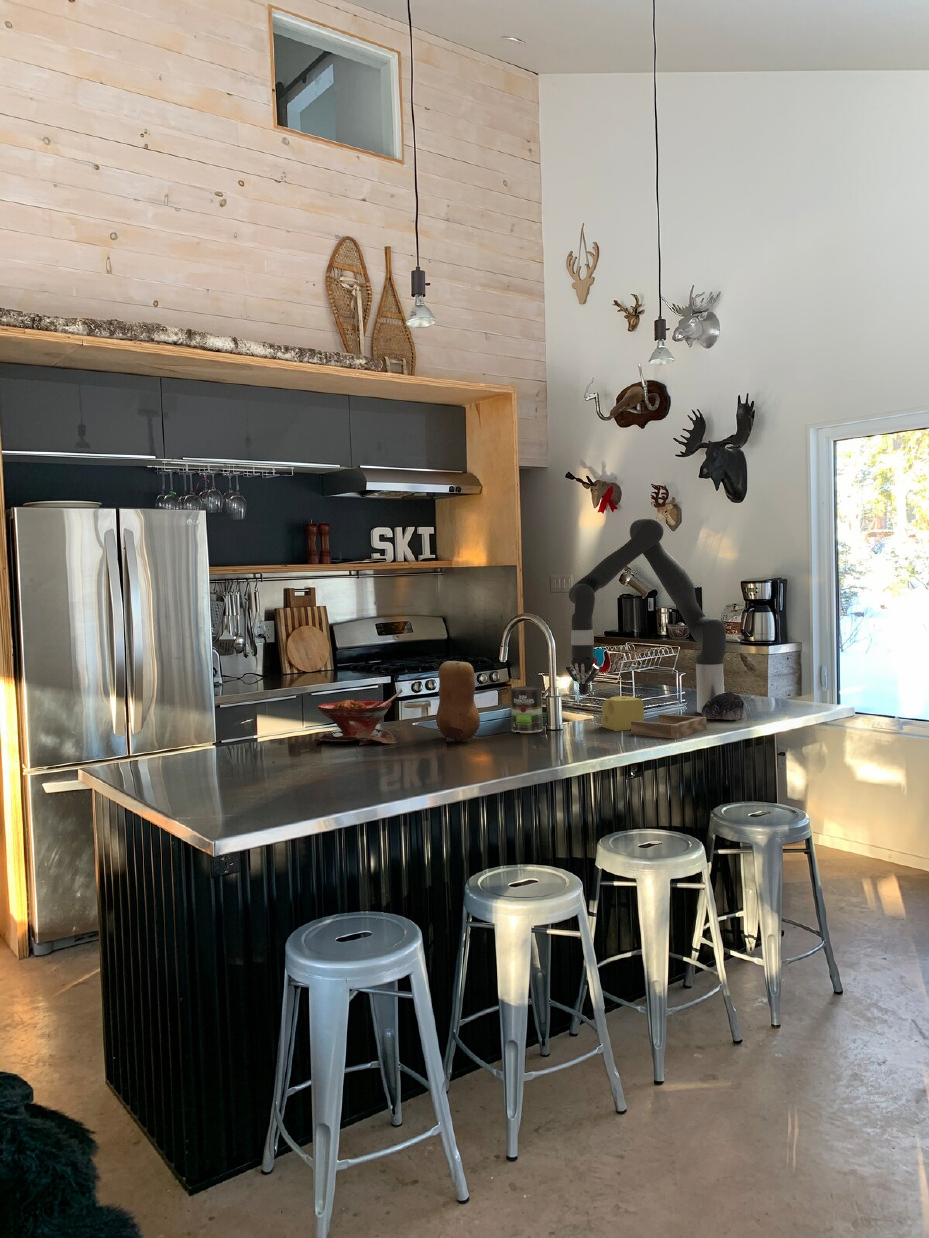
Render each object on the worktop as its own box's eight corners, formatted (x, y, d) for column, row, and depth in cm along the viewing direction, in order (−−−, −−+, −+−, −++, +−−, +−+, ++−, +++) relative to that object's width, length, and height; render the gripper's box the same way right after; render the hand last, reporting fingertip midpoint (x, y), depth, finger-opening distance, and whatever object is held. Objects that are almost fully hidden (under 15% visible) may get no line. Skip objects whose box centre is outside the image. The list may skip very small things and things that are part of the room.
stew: (405, 733, 316) (403, 685, 315) (402, 746, 292) (400, 694, 291) (320, 737, 315) (318, 688, 315) (310, 750, 291) (308, 697, 291)
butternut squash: (482, 735, 306) (479, 658, 305) (478, 743, 293) (476, 662, 292) (439, 736, 308) (436, 659, 306) (434, 744, 294) (431, 663, 293)
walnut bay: (661, 725, 314) (661, 713, 314) (706, 729, 303) (706, 717, 303) (631, 734, 300) (630, 721, 299) (677, 738, 289) (676, 725, 289)
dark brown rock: (694, 719, 325) (693, 690, 325) (728, 716, 329) (728, 688, 329) (716, 725, 312) (715, 694, 312) (752, 721, 317) (751, 692, 316)
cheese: (601, 727, 316) (600, 697, 316) (630, 724, 319) (629, 694, 319) (615, 731, 306) (614, 700, 306) (645, 729, 309) (644, 698, 309)
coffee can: (539, 733, 307) (538, 689, 307) (508, 733, 310) (506, 689, 310) (546, 728, 317) (544, 686, 316) (515, 727, 320) (514, 686, 319)
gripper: (605, 643, 320) (606, 694, 321) (572, 642, 329) (573, 692, 329) (592, 644, 314) (593, 697, 315) (559, 643, 323) (560, 694, 324)
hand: (583, 694), depth 322 cm, fingers closed
